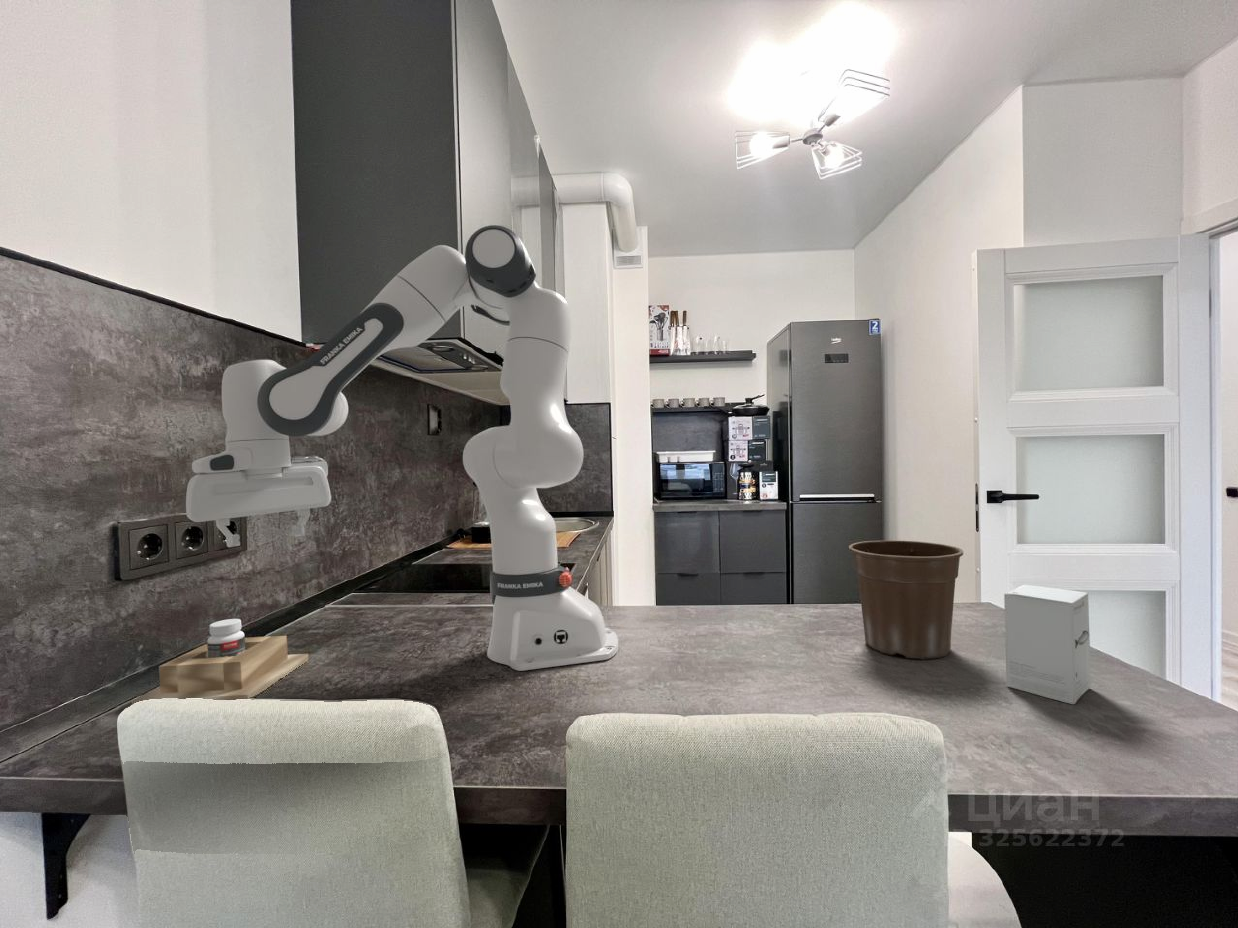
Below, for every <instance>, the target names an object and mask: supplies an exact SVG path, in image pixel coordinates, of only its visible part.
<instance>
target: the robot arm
mask: <svg viewBox="0 0 1238 928" xmlns="http://www.w3.org/2000/svg"><path fill="white" fill-rule="evenodd" d="M536 277H537V272H536V269H535V267H534V264H533V262H532V259H531V257H530V254H529V252H528V250H527V247H526V246H525V245H524V242H522V240H521V238H520V237H519V235H517V234H516V233H515V231H513V230H512V229H510V228H508V227H505V226H504V225H497V224H494V225H492V224H491V225H486V226H483V227H481V228H479V229H477V230H476V231H474V232H473V233H472V234H471V236H470V237H469V238H468V240H467V243H466V246H465V251H464V254H462V253H461V252H460V251H458V250H457V249H455V248H453V247H451V246H448V245H445V244H440V245H435V246H433V247H431V248H430V249H427V251H425V252H423V253H422V254H421V255H419V256H418V257H416V258H415V259H414V260H412V261H411V262H409V263H408V264H407V265H406V266H404V268H402V269H401V271H399V272H398V273H397V274H396V275H395V276H394V277H393V278H392V279H391V280H390V281H389V282H388V283H387V284H386V285H385V286H383V288H382V289H381V290H380V291H379V292H378V294H377V295H376V296H375V297H374V298H373V300H371V302H370V303H369V304H368V305H367V306H365V308H364V309H362V311H361V312H360V313H359V314H358V315H357V316H356V317H355V318H353V319H352V320H350V321H349V322H348V323H347V324H346V325H345V326H344V327H342V329H340V330H339V331H338V332H337V333H336V334H334V335H333V337H331V338H330V339H329V340H327V342H326V343H324V344H323V345H322V346H321V347H320V348H318V350H317V351H315V352H314V353H313V354H312V355H310V356H309V357H308V358H307V359H305V360H303V361H301V362H299V363H297V364H296V365H292V366H290V367H285V366H284V365H283V366H282V365H281V364H279V363H278V362H276V361H275V360H272V359H268V358H267V359H266V358H251V359H244V360H240V361H237V362H234V363H232V364H231V365H229V366H228V367H226V368H225V369H224V372H223V374H222V375H223V376H222V379H221V380H222V381H221V406H222V408H221V409H222V417H223V419H224V421H225V424H226V435H225V449H224V451H218V452H214V453H212V454H211V455H207V456H204V457H202V458H198V459H196V460H193V461H192V462H191V469H192V472H193V473H195V474H196V475H194V476H192V477H191V478H190V479H189V480H188V483H187V487H186V488H187V489H186V497H185V512H186V513H185V514H186V517H187V518H188V519H189V520H191V521H192V522H195V523H201V522H211V521H215V527H217V529H218V530H219V531H220V532H221V533H222V534H223V535H224V536H225V541H226V542H225V543H226V546H227V547H228V548H235V547H239V546H241V541H240V539H241V536H240V534H237V533H235V534H233V533H232V532H231V531H230V530H229V528H228V526H230V525H231V522H230V519H234V518H243V517H250V516H259V515H266V514H274V513H275V514H276V513H284V512H290V511H296V513H297V516H300V517H299V519H298V521H297V523H296V525H292V526H291V527H290V528H291V531H292V532H291V535H292V537H293V538H296V537H303V536H305V533H306V532H305V526H306V524H307V522H308V520H309V519H310V516H311V509H317V508H323V507H324V508H325V507H327V506H329V505H330V503H331V502H332V494H331V490H330V489H331V488H330V484H329V481H328V475H329V468H328V467H329V466H328V463H327V461H326V460H325V459H323V458H321V457H319V456H318V455H309V456H302V455H301V456H300V455H299V456H292V455H291V445H290V440H289V439H290V437H303V436H304V437H305V436H309V437H310V436H314V437H315V436H317V437H320V436H326V435H330V434H333V433H335V432H336V431H338V430H339V429H341V428H342V427H343V426H344V424H345V423H346V421H347V419H348V417H349V414H350V413H349V410H350V409H349V403H348V400H347V398H346V396H345V394H344V393H343V392H342V390H344V389H345V387H346V386H347V385H349V383H351V381H353V380H354V379H355V378H356V377H357V376H358V375H359V374H361V372H362V371H364V369H366V368H367V367H368V366H369V365H370V364H372V362H374V361H375V359H377V358H378V357H379V356H381V355H383V354H385V353H388V352H389V351H393V350H395V349H397V350H398V349H401V348H404V349H405V348H415V347H417V346H419V345H421V344H422V343H424V342H425V341H426V340H428V339H429V338H431V337H432V336H433V335H435V334H436V333H437V332H438V331H439V330H440V329H441V328H442V327H443V326H444V325H445V324H446V323H447V322H448V321H449V320H450V319H451V317H453V315H454V314H455V313H456V312H458V311H459V310H461V308H463V307H465V306H470V307H471V310H472V311H473V312H474V313H476V314H478V315H480V316H482V317H486V318H487V319H489V320H491V321H493V322H495V323H497V324H499V325H502V326H508V327H509V329H508V334H507V340H506V345H505V350H504V355H503V356H504V357H503V363H502V367H501V368H502V369H501V373H500V375H501V376H500V381H499V386H500V390H501V392H502V393H503V395H504V396H505V397H506V398H507V399H508V401H509V405H510V422H509V425H500V426H494V427H489V428H488V429H485V430H482V431H481V432H479V433H477V434H475V435H473V436H472V437H471V438H470V439H469V440H468V441H467V442H466V444H465V446H464V449H463V453H462V465H463V467H464V470H465V472H466V474H467V475H468V476H469V477H470V479H472V480H473V482H474V483H475V485H476V487H477V489H478V492H479V493H480V497H481V500H482V503H483V505H484V509H485V511H486V515H487V520H488V524H489V529H490V531H489V532H490V540H491V541H490V542H491V544H490V545H491V557H492V570H491V571H490V577H489V589H490V599H491V604H492V605H493V607H492V609H493V610H492V621H491V622H492V623H491V632H490V638H489V644H488V647H487V651H486V656H487V658H488V659H490V661H493V662H494V663H498V664H503V665H506V666H509V667H510V668H511V669H513V670H515V671H519V672H521V671H529V670H537V669H545V668H552V667H553V668H554V667H560V666H567V665H568V666H569V665H576V664H583V663H591V662H598V661H606V660H609V659H611V658H612V657H614V655H616V654H617V652H618V650H619V638H618V635H617V634H616V633H617V632H615V631H614V630H612V629H611V628H608V627H606V625H605V620H604V617H603V614H602V612H601V609H600V608H599V606H598V605H597V603H595V602H594V601H592V600H590V599H589V598H588V597H586V596H585V595H583V594H581V592H579V591H577V589H574V588H573V587H572V586H571V583H572V575H571V572H570V568H568V567H564V566H561V565H560V564H559V562H558V560H559V559H558V544H557V543H558V542H557V541H558V540H557V525H556V521H555V519H554V517H553V516H552V515H551V514H550V513H549V512H548V511H547V510H546V509H545V507H544V505H543V503H542V502H541V500H540V496H539V493H538V491H537V489H549V488H553V487H556V486H560V485H563V484H565V483H569V482H570V481H572V480H574V479H575V478H576V476H578V475H579V473H580V471H581V468H582V466H583V461H584V445H583V444H582V440H581V438H580V436H579V435H578V433H577V432H576V431H575V430H574V429H573V427H572V426H571V425H570V423H569V421H568V418H567V414H566V408H565V401H564V400H565V399H564V398H565V395H564V394H565V392H564V391H565V384H566V375H567V374H566V373H567V367H568V360H569V354H570V353H569V352H570V344H571V327H572V326H571V311H570V306H569V303H568V301H567V300H566V299H565V298H564V296H563V295H561V294H560V293H558V292H557V291H554V290H552V289H549V288H543V287H541V286H539V285H538V284H537V281H536V280H535V279H536Z"/></svg>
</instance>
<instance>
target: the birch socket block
mask: <svg viewBox="0 0 1238 928" xmlns="http://www.w3.org/2000/svg"><path fill="white" fill-rule="evenodd" d="M287 639H288V638H287V635H272V636H254V637H252V636H251V637H245V651H244V652H242V653H240V654H238V655H236V656H233V657H216V658H208V646H207V643H205V644H203V645H201V646H198V647H197V648H195V649H193V650H191V651H188V652H186V653H184V654H182V655H180V656H178V657H176V658H172V660H169V661H167V662H166V663H162V664H161V665H158V673H159V686H158V687H157V688H155V689H153V690H151V691H149V692H147V693H145V694H144V695H142V696H139V697H138V698H135V699H134V700H132V701H131V705H132V704H134V703H136V702H139V701H143V700H149V699H162V698H178V699H186V698H203V699H213V700H236V699H253V700H254V699H255V698H250V697H253V696H255V695H257V694H259V693H260V692H262V691H264V690H266V689H267V688H268V687H270V686H271V685H272V684H274V683H275V682H276V681H278V680H279V679H280V678H283V677H284V678H286V677H287V676H289V675H290V674H291V673H290V672H292V671H293V670H295V669H296V668H297V669H299V668H300V667H302V666H303V665H305V664H306V663H308V662H309V661H308V660H309V653H297V654H295V653H294V654H288V640H287ZM305 662H306V663H305ZM304 663H305V664H304ZM302 664H303V665H302ZM301 665H302V666H301ZM299 666H300V667H299ZM298 667H299V668H298ZM297 669H296V670H297ZM296 670H295V671H296ZM293 672H294V671H293ZM293 672H292V673H293ZM289 673H290V674H289ZM288 674H289V675H288ZM286 675H287V676H286ZM285 676H286V677H285ZM284 678H283V679H284ZM274 685H275V684H274ZM270 688H271V687H270ZM267 690H268V689H267ZM267 690H266V691H267ZM264 692H265V691H264Z"/></svg>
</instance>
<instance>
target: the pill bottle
mask: <svg viewBox="0 0 1238 928" xmlns="http://www.w3.org/2000/svg"><path fill="white" fill-rule="evenodd" d="M242 627H243V626H242V620H241V619H240V618H229V619H223V620H219V621H215V622H212V623H211V624H209V635H210V636H209V637H208V639H207V641H206V642H207V643H206V644H207V646H208V658H216V657H233V656H236V655H238V654H240V653H242V652H244V651H245V638H246V636H245V633H244V632H243V631H242Z"/></svg>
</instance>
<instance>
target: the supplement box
mask: <svg viewBox="0 0 1238 928" xmlns="http://www.w3.org/2000/svg"><path fill="white" fill-rule="evenodd" d="M1003 596H1004V598H1003V599H1004V603H1003V604H1004V628H1005V629H1004V630H1005V631H1004V635H1005V671H1006V675H1005V676H1006V677H1005V678H1006V687H1009V688H1012V689H1015V690H1019V691H1023V692H1027V693H1029V694H1032V695H1037V696H1039V697H1044V698H1048V699H1052V700H1055V701H1058V702H1062V703H1066V704H1071V705H1075V704H1076V703H1077V702H1078V701H1079V699H1080V698H1081V697H1082V696H1083V695H1084V694H1085V693H1086V692H1087V691H1089V689H1091V685H1092V682H1091V640H1090V634H1091V633H1090V616H1089V615H1090V613H1089V611H1090V610H1089V592H1086V591H1085V592H1084V591H1078V590H1073V589H1072V590H1071V589H1064V588H1057V587H1048V586H1047V587H1046V586H1041V585H1040V586H1039V585H1032V584H1031V585H1030V584H1022V585H1019V586H1018V587H1015V588H1013V589H1011V590H1009V591H1008V592H1005V593H1004V595H1003Z"/></svg>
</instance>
